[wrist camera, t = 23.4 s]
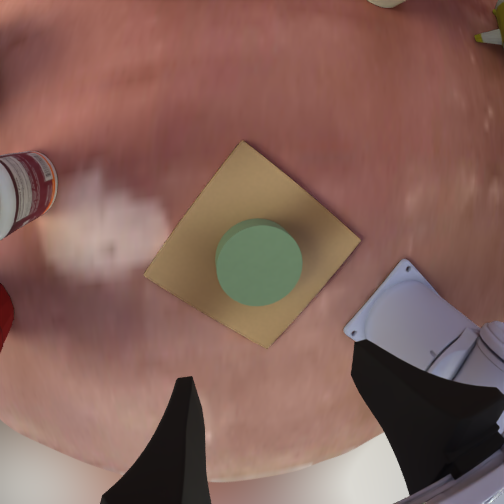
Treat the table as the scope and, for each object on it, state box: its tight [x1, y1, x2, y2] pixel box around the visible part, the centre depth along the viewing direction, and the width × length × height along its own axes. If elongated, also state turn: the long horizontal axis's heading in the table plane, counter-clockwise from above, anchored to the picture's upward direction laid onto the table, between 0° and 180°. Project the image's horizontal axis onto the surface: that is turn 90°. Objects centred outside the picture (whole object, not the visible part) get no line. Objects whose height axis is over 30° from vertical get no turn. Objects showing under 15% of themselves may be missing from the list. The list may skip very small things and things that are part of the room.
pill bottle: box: [0, 151, 58, 240], centre depth 14 cm, size 5×5×8 cm
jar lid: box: [215, 218, 303, 306], centre depth 20 cm, size 6×5×2 cm
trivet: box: [144, 140, 361, 349], centre depth 22 cm, size 11×11×1 cm
